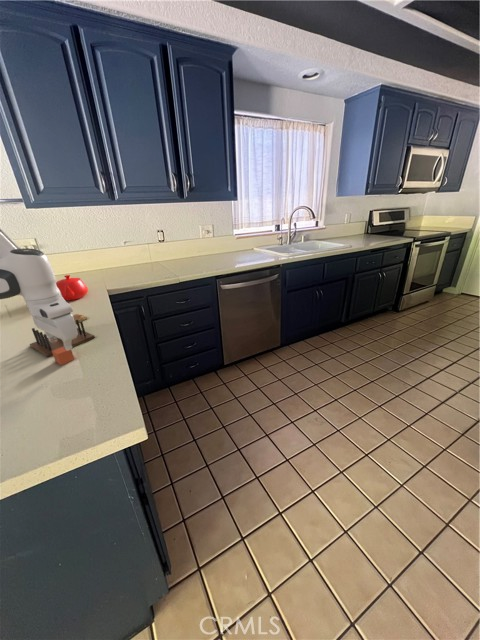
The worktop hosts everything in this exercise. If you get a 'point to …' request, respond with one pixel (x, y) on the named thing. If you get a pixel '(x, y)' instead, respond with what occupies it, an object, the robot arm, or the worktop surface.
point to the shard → (79, 317)
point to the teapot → (72, 288)
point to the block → (62, 355)
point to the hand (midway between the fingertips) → (61, 345)
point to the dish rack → (47, 346)
